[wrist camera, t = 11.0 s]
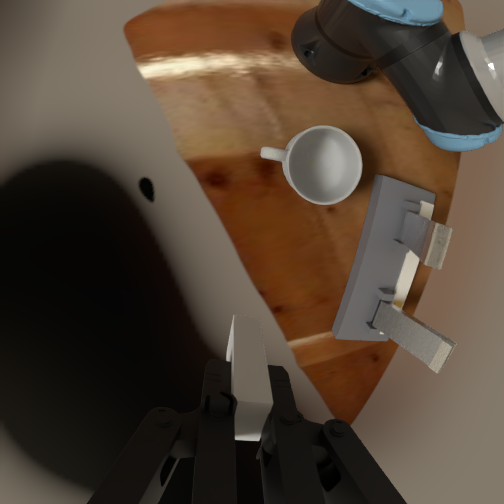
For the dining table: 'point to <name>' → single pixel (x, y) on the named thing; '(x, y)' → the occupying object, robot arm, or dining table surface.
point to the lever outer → (413, 335)
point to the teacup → (320, 164)
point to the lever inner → (426, 239)
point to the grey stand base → (381, 258)
